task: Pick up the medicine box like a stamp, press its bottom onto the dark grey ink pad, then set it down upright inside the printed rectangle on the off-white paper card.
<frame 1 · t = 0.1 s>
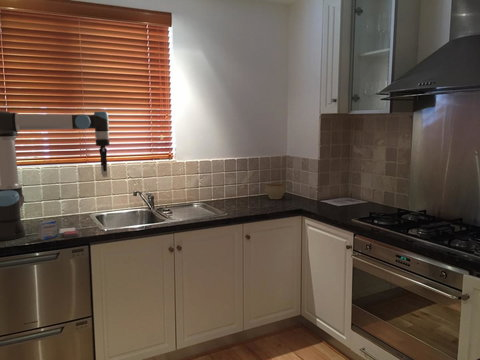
hand: (104, 175, 242), 28 cm above the table, tool pointing down, fingers open, 13 cm apart
planter bowl: (275, 198, 318), on the table
paper card: (67, 230, 227), on the table
medicine box: (48, 238, 214), on the table
ink pad: (71, 235, 218), on the table
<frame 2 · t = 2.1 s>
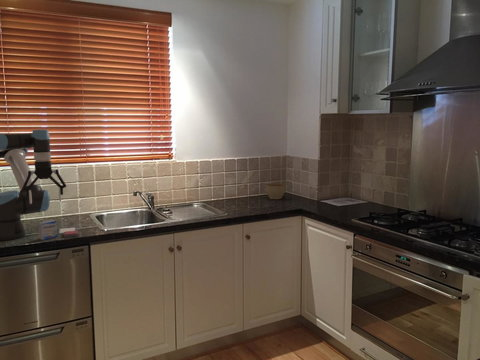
hand: (45, 202, 211), 19 cm above the table, tool pointing down, fingers open, 13 cm apart
nothing on the table moved.
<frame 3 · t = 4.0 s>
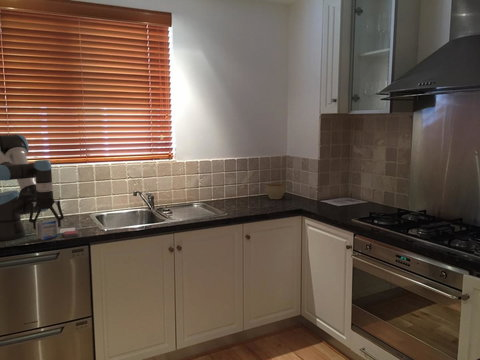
hand: (47, 234, 213), 2 cm above the table, tool pointing down, fingers closed on medicine box, 9 cm apart
medicine box: (48, 238, 214), on the table, touching gripper
everything else where it was.
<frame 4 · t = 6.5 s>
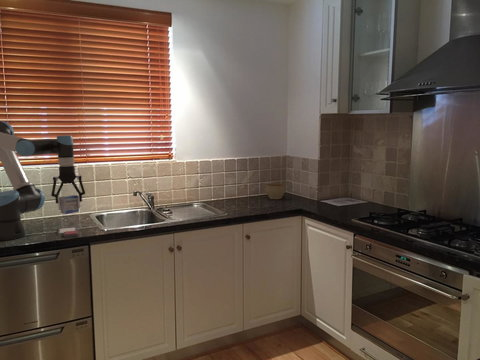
hand: (69, 208, 216), 14 cm above the table, tool pointing down, fingers closed on medicine box, 9 cm apart
medicine box: (69, 212, 217), point 12 cm above the table, touching gripper
everything else where it was.
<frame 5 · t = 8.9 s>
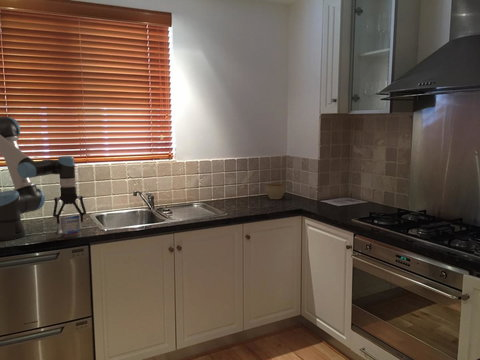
hand: (70, 228, 218), 3 cm above the table, tool pointing down, fingers closed on medicine box, 9 cm apart
medicine box: (71, 232, 218), point 1 cm above the table, touching gripper, ink pad
everything else where it was.
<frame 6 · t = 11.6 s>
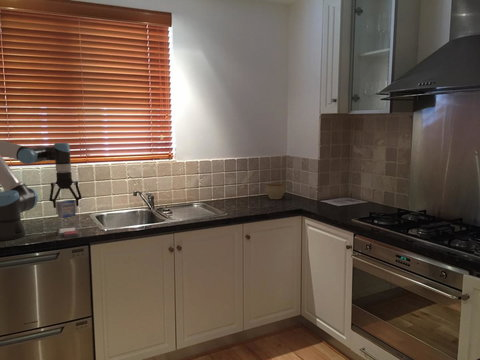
hand: (66, 212, 226), 10 cm above the table, tool pointing down, fingers closed on medicine box, 9 cm apart
medicine box: (67, 216, 226), point 8 cm above the table, touching gripper
everything else where it was.
when the fingers open (3 cm above the table, at t = 13.9 s): medicine box stays where it is, resting on paper card.
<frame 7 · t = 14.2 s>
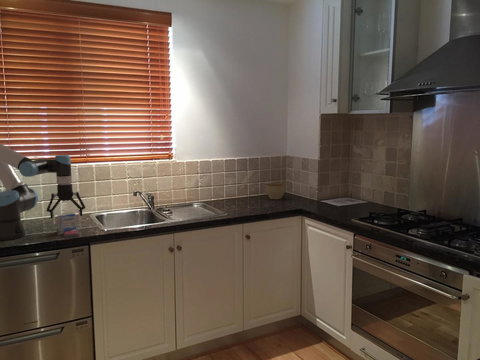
hand: (67, 222, 227), 4 cm above the table, tool pointing down, fingers open, 12 cm apart
medicine box: (67, 230, 227), resting on paper card
everything else where it was.
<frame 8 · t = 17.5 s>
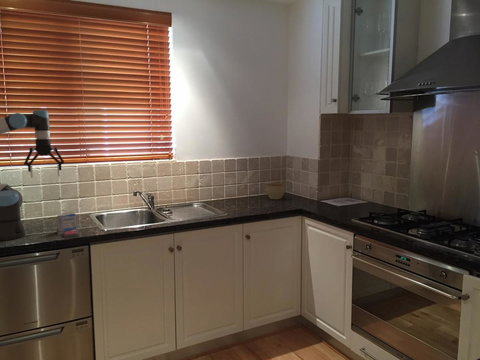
hand: (45, 176, 231), 29 cm above the table, tool pointing down, fingers open, 13 cm apart
nothing on the table moved.
at the end: medicine box inside the target area on the paper card (0.1 cm from its centre), point 0.3 cm above the paper card's base; medicine box tilted 0°; the gripper is holding nothing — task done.
